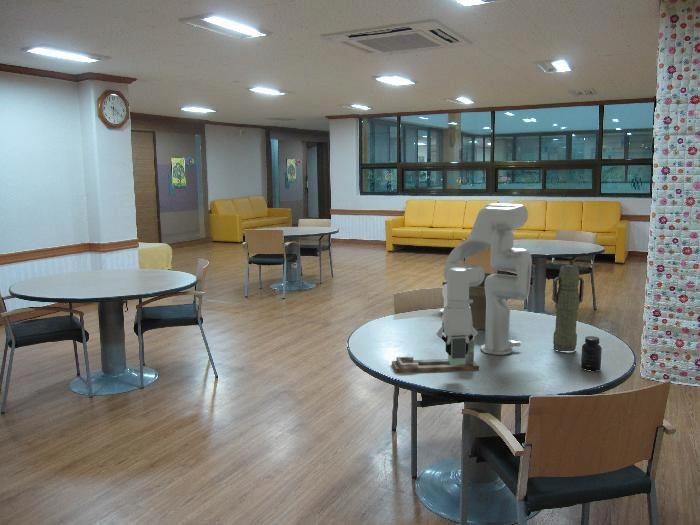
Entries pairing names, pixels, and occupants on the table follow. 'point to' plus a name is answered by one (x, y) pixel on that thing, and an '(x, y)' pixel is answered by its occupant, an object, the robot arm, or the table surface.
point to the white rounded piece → (444, 295)
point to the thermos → (567, 307)
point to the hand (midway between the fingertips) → (456, 353)
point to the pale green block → (457, 350)
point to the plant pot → (478, 305)
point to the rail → (435, 363)
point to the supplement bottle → (591, 354)
